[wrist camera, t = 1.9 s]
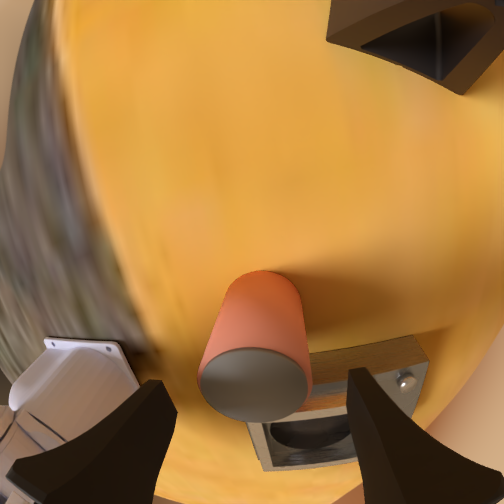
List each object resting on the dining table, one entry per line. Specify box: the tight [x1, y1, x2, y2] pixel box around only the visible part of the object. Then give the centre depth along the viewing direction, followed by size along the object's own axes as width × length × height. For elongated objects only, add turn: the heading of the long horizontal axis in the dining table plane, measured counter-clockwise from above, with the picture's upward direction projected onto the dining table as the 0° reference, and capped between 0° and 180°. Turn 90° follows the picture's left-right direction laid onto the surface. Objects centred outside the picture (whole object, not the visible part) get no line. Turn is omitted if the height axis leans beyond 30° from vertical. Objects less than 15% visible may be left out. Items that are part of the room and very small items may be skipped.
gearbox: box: [246, 335, 429, 471], centre depth 16 cm, size 12×9×4 cm
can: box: [197, 271, 313, 423], centre depth 13 cm, size 5×5×7 cm
